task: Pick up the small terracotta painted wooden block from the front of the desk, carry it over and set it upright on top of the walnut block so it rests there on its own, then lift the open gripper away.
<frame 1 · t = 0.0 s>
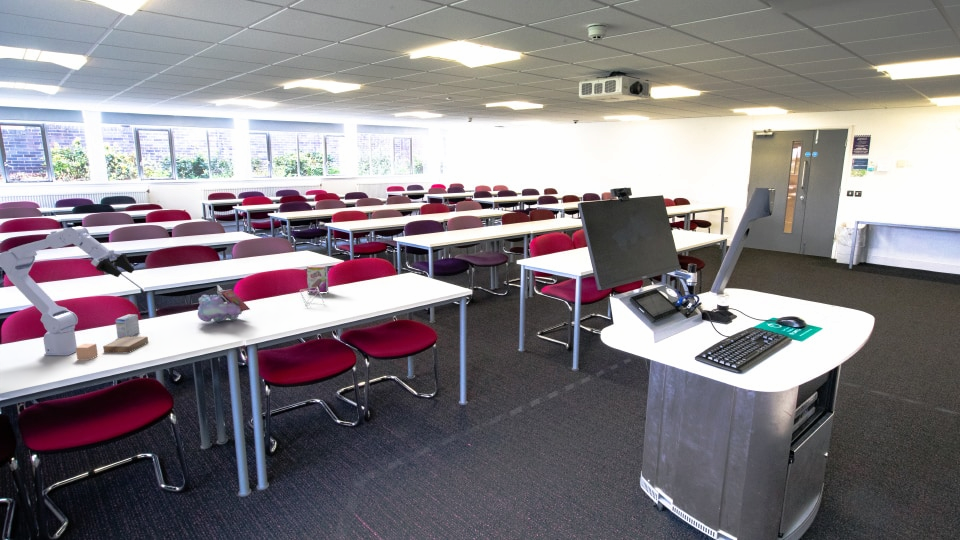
hand: (126, 273, 196), 32 cm above the table, tool tilted 50°, fingers open, 7 cm apart
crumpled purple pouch: (224, 322, 243), on the table
terracotta block: (87, 358, 196), on the table
candy bar box: (318, 293, 302), on the table
medicine box: (128, 336, 223), on the table
walnut block: (126, 348, 208), on the table
geometric polyhedron: (312, 305, 276), on the table
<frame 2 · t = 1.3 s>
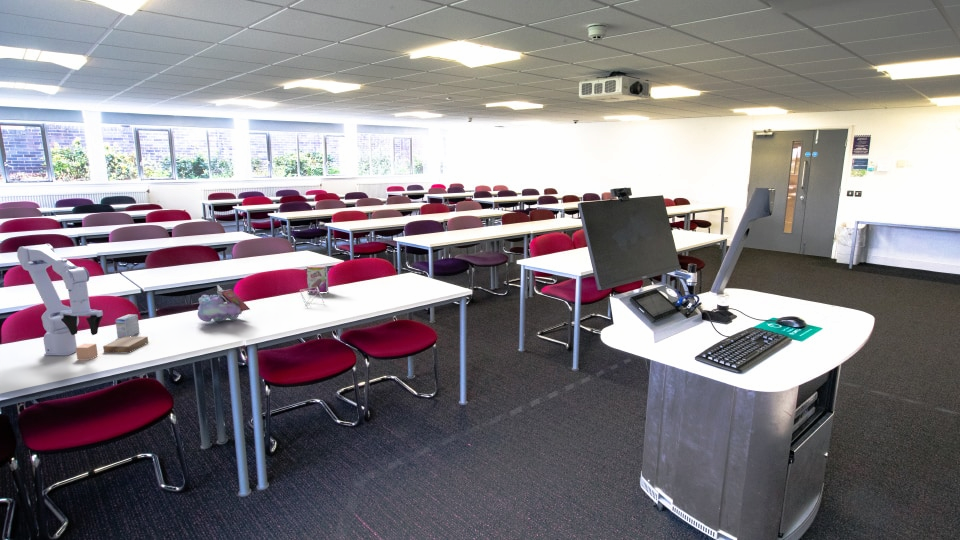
hand: (84, 334, 194), 9 cm above the table, tool pointing down, fingers open, 7 cm apart
nothing on the table moved.
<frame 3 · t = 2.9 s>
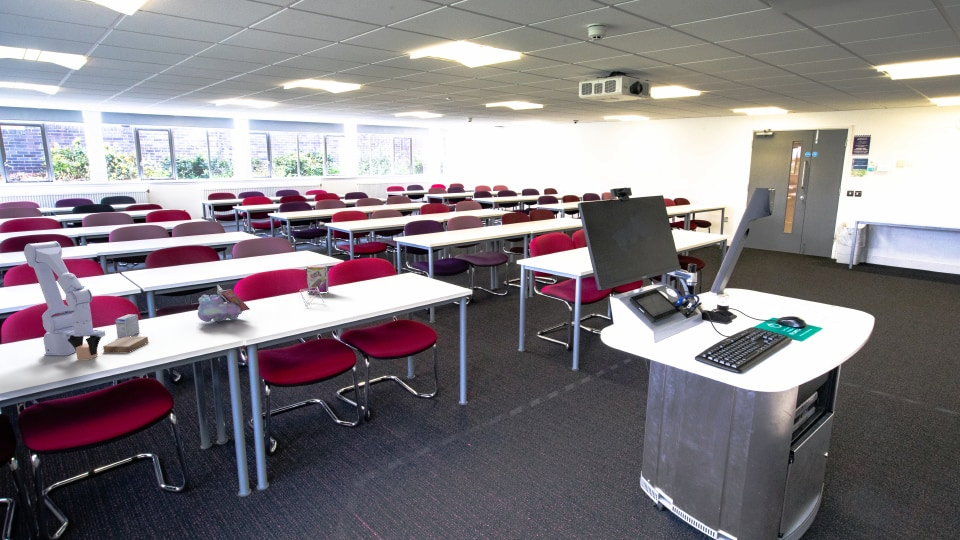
hand: (87, 354, 196), 1 cm above the table, tool pointing down, fingers closed on terracotta block, 4 cm apart
terracotta block: (87, 357, 196), on the table, touching gripper
everything else where it was.
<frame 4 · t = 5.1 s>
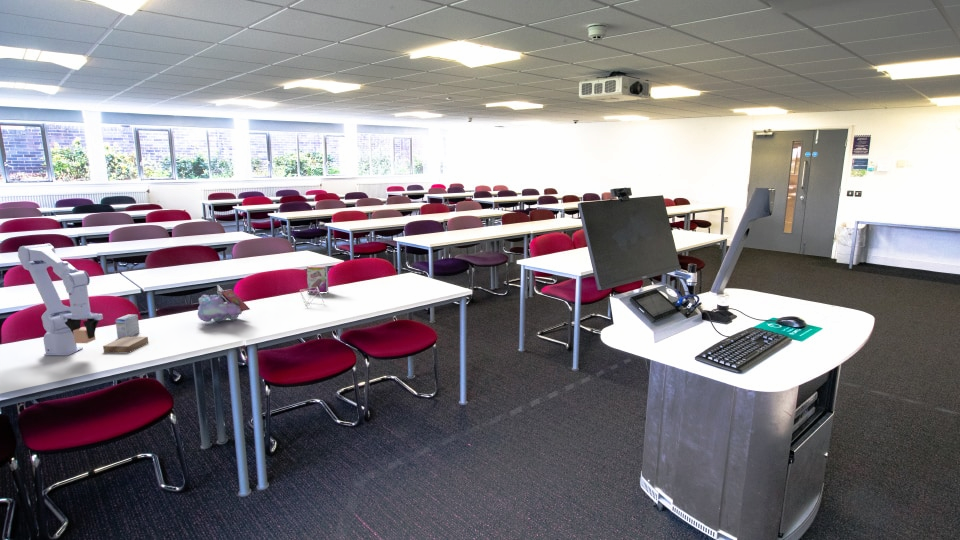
hand: (84, 337, 195), 8 cm above the table, tool pointing down, fingers closed on terracotta block, 4 cm apart
terracotta block: (85, 341, 195), point 7 cm above the table, touching gripper
everything else where it was.
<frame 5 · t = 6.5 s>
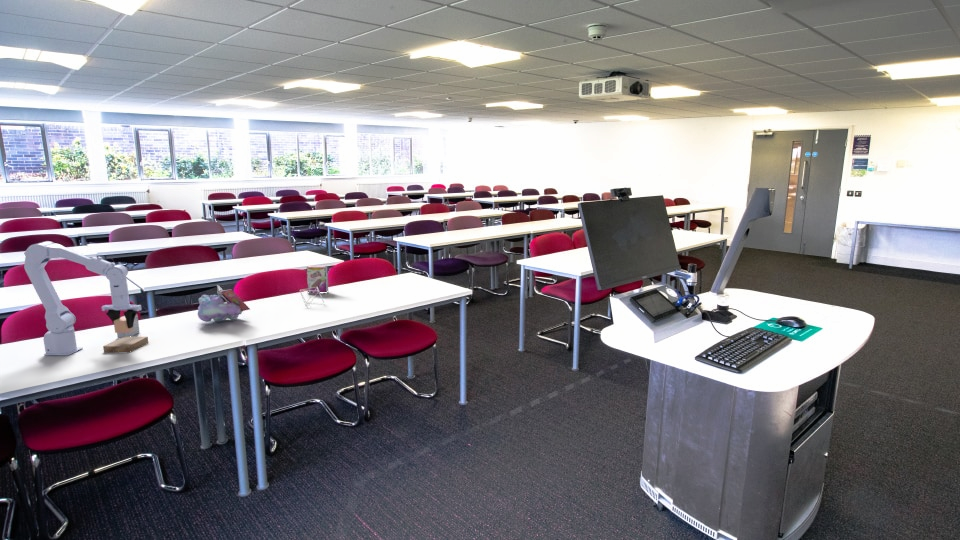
hand: (124, 327, 206), 8 cm above the table, tool pointing down, fingers closed on terracotta block, 4 cm apart
terracotta block: (124, 331, 207), point 7 cm above the table, touching gripper
everything else where it was.
when the fingers open (5 cm above the table, at t = 7.6 s): terracotta block drops 2 cm, resting on walnut block.
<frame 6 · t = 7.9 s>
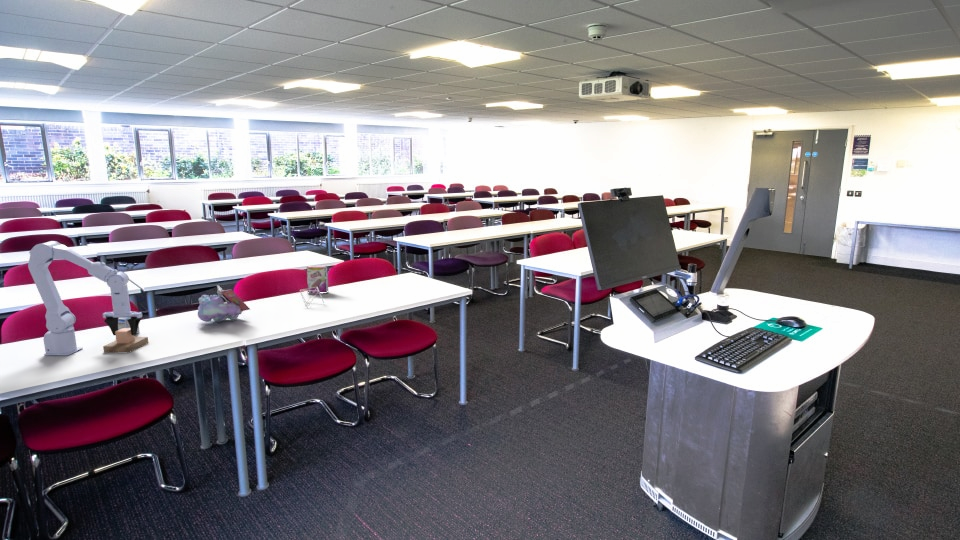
hand: (125, 334, 207), 5 cm above the table, tool pointing down, fingers open, 7 cm apart
terracotta block: (126, 341, 208), point 2 cm above the table, touching walnut block
walnut block: (126, 348, 208), on the table, touching terracotta block
everything else where it was.
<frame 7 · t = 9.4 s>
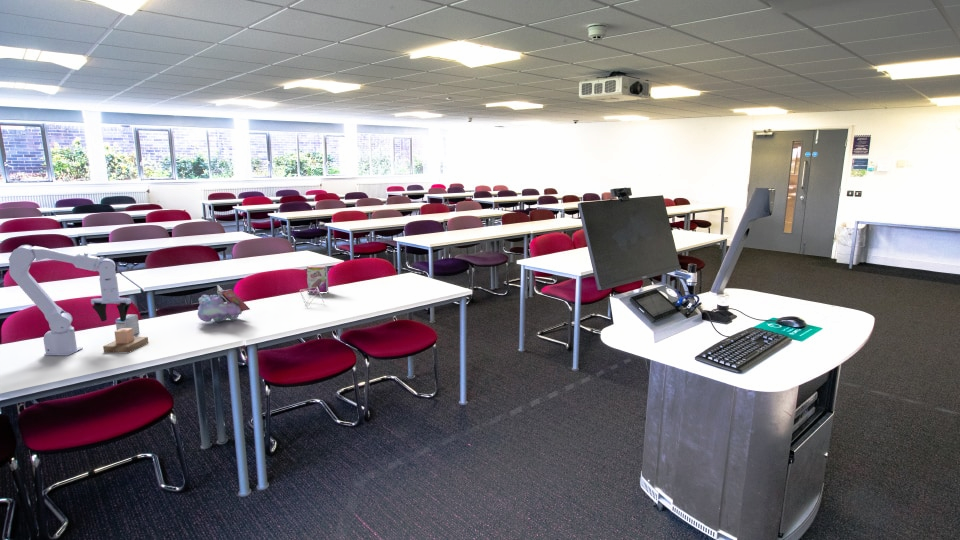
hand: (113, 320, 209), 10 cm above the table, tool pointing down, fingers open, 7 cm apart
nothing on the table moved.
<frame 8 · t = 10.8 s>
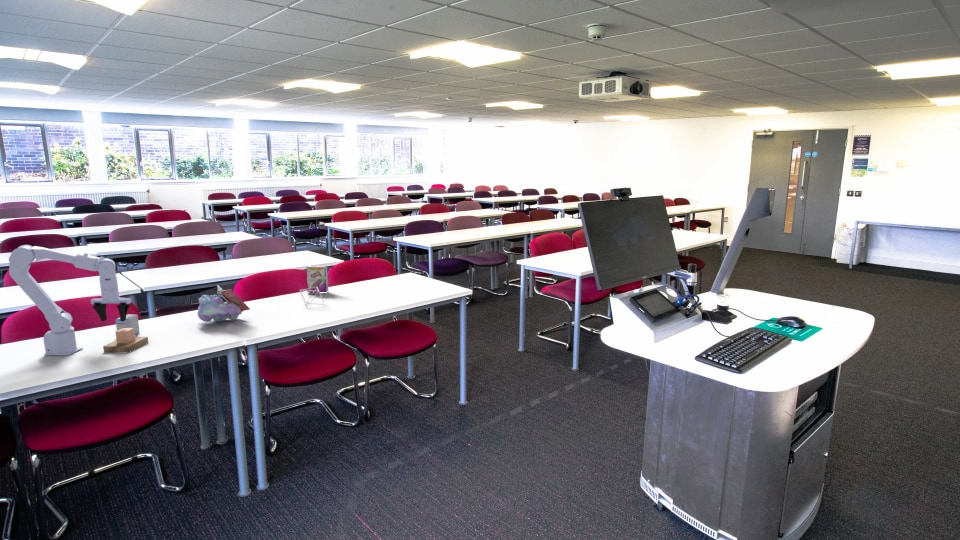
hand: (113, 320, 209), 10 cm above the table, tool pointing down, fingers open, 7 cm apart
nothing on the table moved.
at the end: terracotta block inside the target area on the walnut block (0.1 cm from its centre), point 3.0 cm above the walnut block's base; terracotta block tilted 0°; the gripper is holding nothing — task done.
